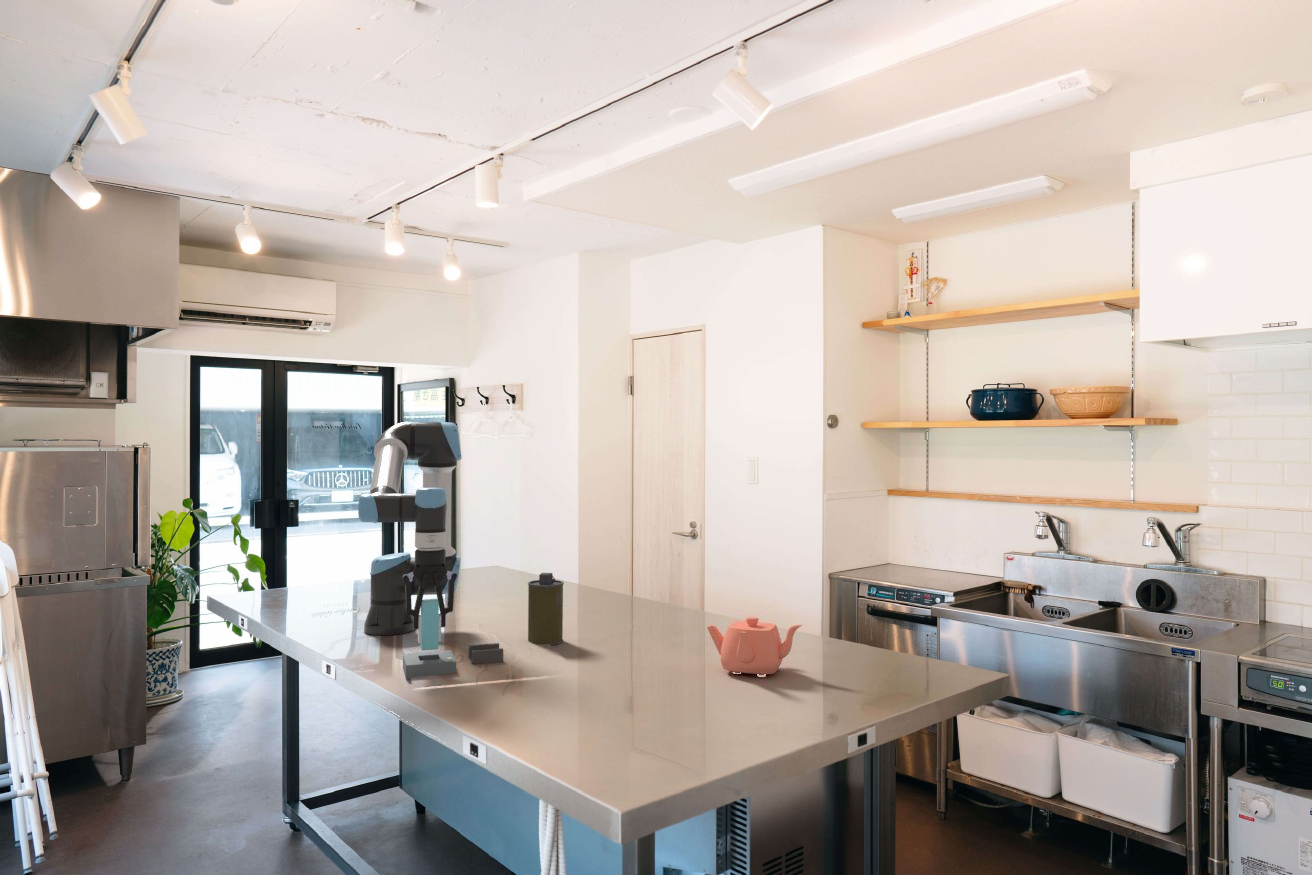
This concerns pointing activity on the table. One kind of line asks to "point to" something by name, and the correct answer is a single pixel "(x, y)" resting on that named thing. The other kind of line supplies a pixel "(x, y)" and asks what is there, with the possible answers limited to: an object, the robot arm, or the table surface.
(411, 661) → the port
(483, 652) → the holster
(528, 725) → the table surface
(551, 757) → the table surface
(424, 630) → the plug
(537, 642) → the canister
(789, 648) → the teapot
